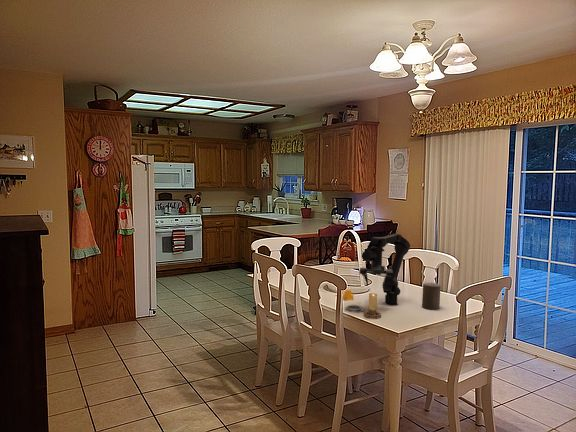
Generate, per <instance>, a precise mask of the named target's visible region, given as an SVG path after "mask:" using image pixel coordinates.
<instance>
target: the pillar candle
mask: <svg viewBox="0 0 576 432" xmlns="http://www.w3.org/2000/svg"><path fill="white" fill-rule="evenodd" d="M421 299H422V301H421V308H423V309H424V310H425V309H426V310H430V311H438V310H440V305H441V284H440V283H435V282H424V283H423V284H422V298H421Z"/></svg>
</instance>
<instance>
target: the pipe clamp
mask: <svg viewBox="0 0 576 432" xmlns="http://www.w3.org/2000/svg"><path fill="white" fill-rule="evenodd" d="M343 298H344V299H343ZM343 298H342V299H343V300H345V299H346V300H345V301H347V300H349V301H353V300H354V294H352V290H351V289H345V291H344V290H343Z"/></svg>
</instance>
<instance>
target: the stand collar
mask: <svg viewBox="0 0 576 432" xmlns="http://www.w3.org/2000/svg"><path fill="white" fill-rule="evenodd" d="M368 311H369V310H367V311H364V313H363V315H364V318H367V319H371V320H372V319H373V320H375V319H381V318H382V313H381V312H379V311H377V315H368Z"/></svg>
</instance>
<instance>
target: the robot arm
mask: <svg viewBox="0 0 576 432" xmlns="http://www.w3.org/2000/svg"><path fill="white" fill-rule="evenodd" d="M388 244H393V245H394V251H395V252H394V253H395V254H394V257H393V261H392V264H391V268H385V265H382V264H383V252H385V251H386V250H385V249H384V248H385V247H386V246H387V245H388ZM410 248H411V243H410V242H409V241H408V240H407V239H406V238H405V237H403V236H402V234H400V233H392V234H389V235H385V236H382V237H381V236H380V237H379V236H378V237H377V236H373V237H371V239H370V241H369V243H368V244H367V247H366V248H364V250H363V252H362V253H361V258H362V260H363V261H364V262H370V261H371V268H370V269H368V268H367V267H360V268H359V275H361V276H363V277H364V280H365V283H366V286H367V287H368V286H369V279H368V278H369V277H368V274H372V275H378V276H381V274H382V275H384V278H383V280H382V281H383V282H382V290H383V293H385V296H384V297H385V298H384V303H385V305H389V306H398V304H399V303H398V296H400V294H401V289H400V287H399V280H398V278H399V277H398V276H399V272H400V270H401V266H402V262H403V260H404V258H405V257H404V256H405V255H406V254H408V252H409V251H410Z"/></svg>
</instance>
